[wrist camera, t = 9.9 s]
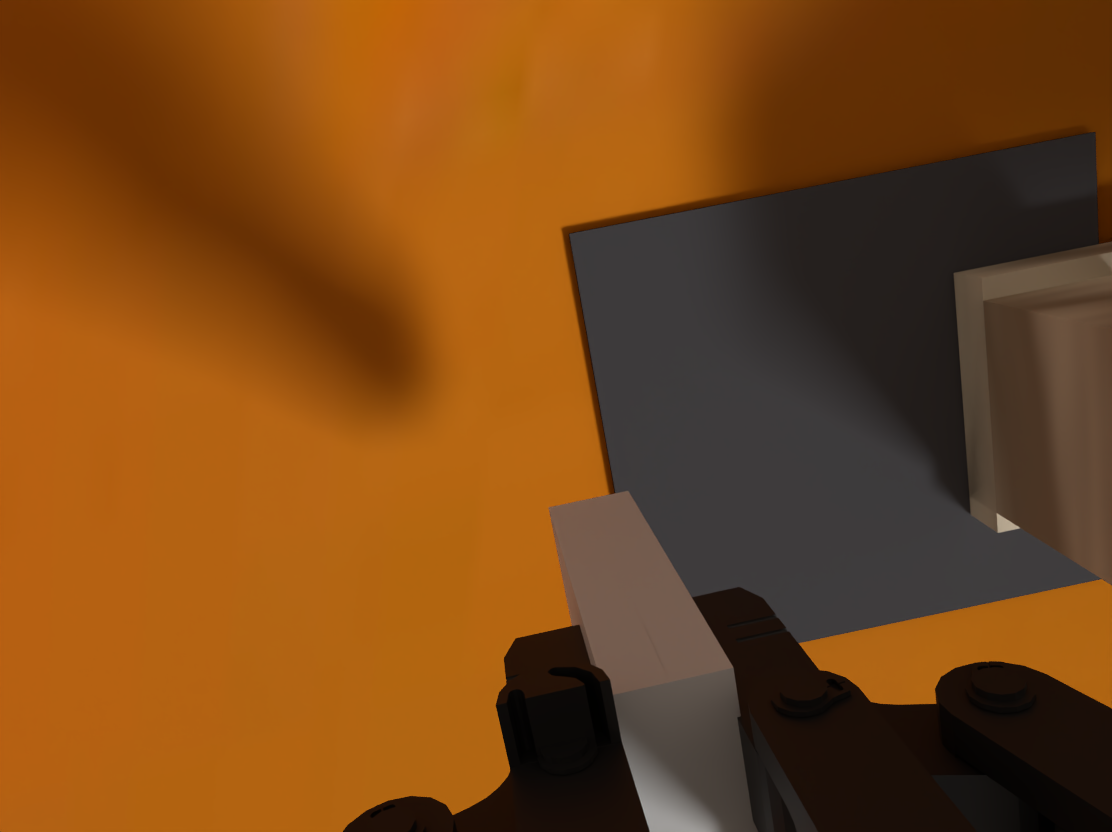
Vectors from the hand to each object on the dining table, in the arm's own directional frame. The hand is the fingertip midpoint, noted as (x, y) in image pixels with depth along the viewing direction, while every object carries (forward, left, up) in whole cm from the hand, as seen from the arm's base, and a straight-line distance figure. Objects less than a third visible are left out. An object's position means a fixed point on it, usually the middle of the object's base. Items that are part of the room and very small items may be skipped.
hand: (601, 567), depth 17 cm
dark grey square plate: (+7, 0, -5) cm, 8 cm away
